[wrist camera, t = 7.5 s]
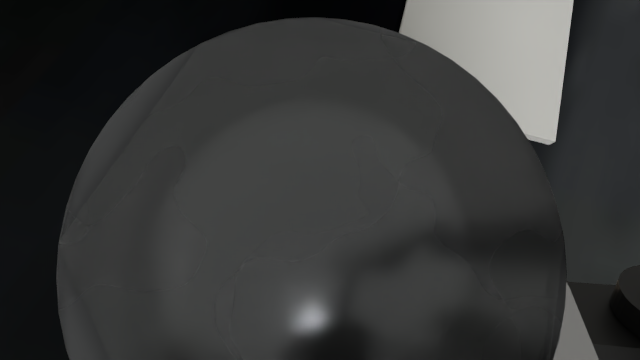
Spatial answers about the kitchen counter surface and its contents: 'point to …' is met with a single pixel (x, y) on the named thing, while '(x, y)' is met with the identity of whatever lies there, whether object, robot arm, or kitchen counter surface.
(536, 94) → the grey rubber pad
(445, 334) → the steel plug
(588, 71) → the kitchen counter surface
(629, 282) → the robot arm
